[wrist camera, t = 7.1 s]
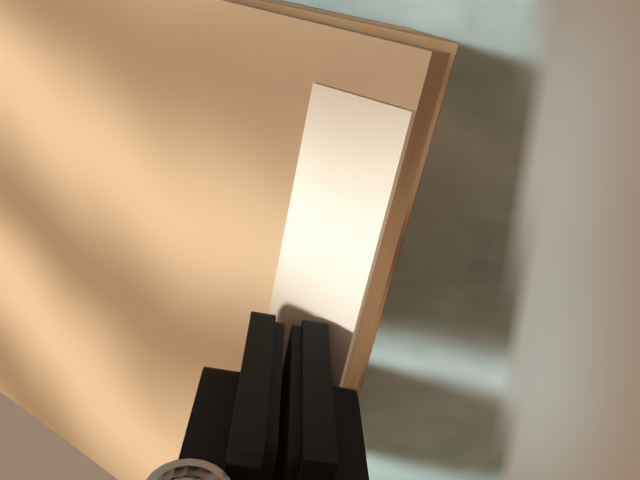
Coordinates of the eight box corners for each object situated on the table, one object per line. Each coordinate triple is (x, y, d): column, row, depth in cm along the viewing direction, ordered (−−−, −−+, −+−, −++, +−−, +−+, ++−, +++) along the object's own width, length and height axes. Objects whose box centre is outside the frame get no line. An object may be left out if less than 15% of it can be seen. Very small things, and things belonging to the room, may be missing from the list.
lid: (-21, -61, 16) (-67, -70, 15) (450, 53, 10) (428, 51, 9) (-9, 353, 21) (-42, 367, 20) (304, 575, 16) (280, 609, 15)
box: (83, -43, 23) (-19, -61, 16) (412, 29, 25) (458, 44, 17) (73, 260, 29) (-7, 351, 21) (343, 305, 30) (355, 405, 23)
